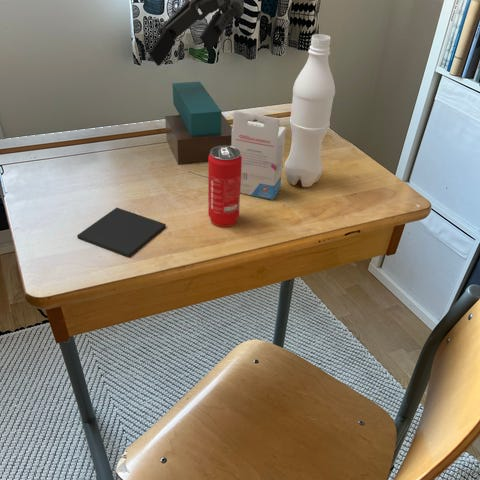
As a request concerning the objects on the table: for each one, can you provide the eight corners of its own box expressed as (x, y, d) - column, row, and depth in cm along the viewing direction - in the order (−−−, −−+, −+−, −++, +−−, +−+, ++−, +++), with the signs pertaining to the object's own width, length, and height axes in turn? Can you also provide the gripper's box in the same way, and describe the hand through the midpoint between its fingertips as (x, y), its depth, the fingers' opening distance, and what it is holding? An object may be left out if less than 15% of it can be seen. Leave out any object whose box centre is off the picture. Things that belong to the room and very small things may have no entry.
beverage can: (210, 229, 85) (211, 160, 76) (206, 212, 88) (206, 145, 80) (241, 226, 86) (245, 158, 77) (235, 210, 89) (238, 144, 81)
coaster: (77, 238, 81) (77, 235, 81) (117, 210, 88) (116, 207, 87) (129, 257, 78) (128, 254, 77) (165, 227, 84) (165, 223, 84)
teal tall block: (171, 101, 112) (170, 80, 109) (198, 99, 113) (198, 79, 110) (191, 136, 99) (190, 113, 96) (221, 133, 101) (221, 111, 98)
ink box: (280, 188, 96) (289, 108, 86) (273, 201, 92) (281, 119, 82) (238, 179, 98) (241, 100, 88) (229, 191, 94) (231, 110, 84)
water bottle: (278, 185, 96) (293, 39, 79) (288, 169, 102) (304, 28, 85) (315, 193, 95) (339, 45, 78) (323, 176, 100) (347, 34, 83)
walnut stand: (166, 139, 109) (165, 116, 106) (220, 134, 112) (220, 111, 109) (178, 164, 101) (177, 140, 98) (236, 158, 104) (237, 134, 101)
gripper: (289, -25, 93) (241, 55, 87) (194, 11, 109) (147, 81, 103) (270, -68, 88) (217, 14, 81) (173, -24, 104) (122, 48, 97)
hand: (178, 52), depth 92 cm, fingers open, 13 cm apart
